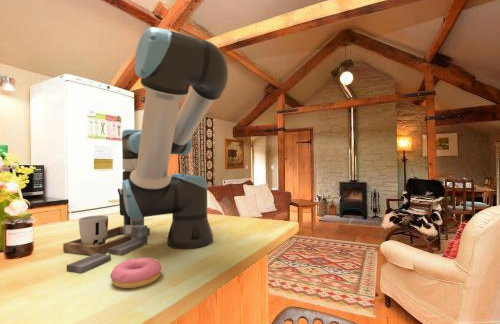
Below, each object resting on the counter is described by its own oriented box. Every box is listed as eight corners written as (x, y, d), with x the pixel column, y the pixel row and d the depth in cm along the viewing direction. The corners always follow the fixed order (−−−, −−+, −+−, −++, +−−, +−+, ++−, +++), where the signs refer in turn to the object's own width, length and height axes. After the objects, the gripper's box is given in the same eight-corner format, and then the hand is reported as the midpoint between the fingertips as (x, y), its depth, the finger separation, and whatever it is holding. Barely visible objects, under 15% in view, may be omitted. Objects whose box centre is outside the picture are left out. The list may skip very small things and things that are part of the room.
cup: (94, 254, 79) (94, 221, 79) (72, 252, 81) (72, 220, 81) (114, 246, 87) (114, 215, 87) (93, 244, 89) (93, 214, 89)
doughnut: (167, 283, 60) (166, 264, 60) (112, 297, 54) (112, 276, 54) (155, 267, 69) (155, 251, 69) (108, 277, 63) (108, 260, 63)
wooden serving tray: (152, 233, 101) (151, 202, 101) (97, 255, 77) (96, 214, 77) (123, 231, 105) (123, 201, 105) (63, 251, 81) (62, 212, 81)
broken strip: (148, 243, 89) (148, 225, 89) (81, 273, 65) (81, 249, 65) (136, 242, 91) (136, 224, 91) (66, 271, 67) (66, 247, 67)
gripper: (140, 169, 110) (141, 225, 110) (107, 171, 94) (108, 237, 94) (156, 169, 108) (156, 227, 108) (124, 171, 92) (125, 238, 91)
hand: (134, 231), depth 101 cm, fingers closed on wooden serving tray, 4 cm apart
